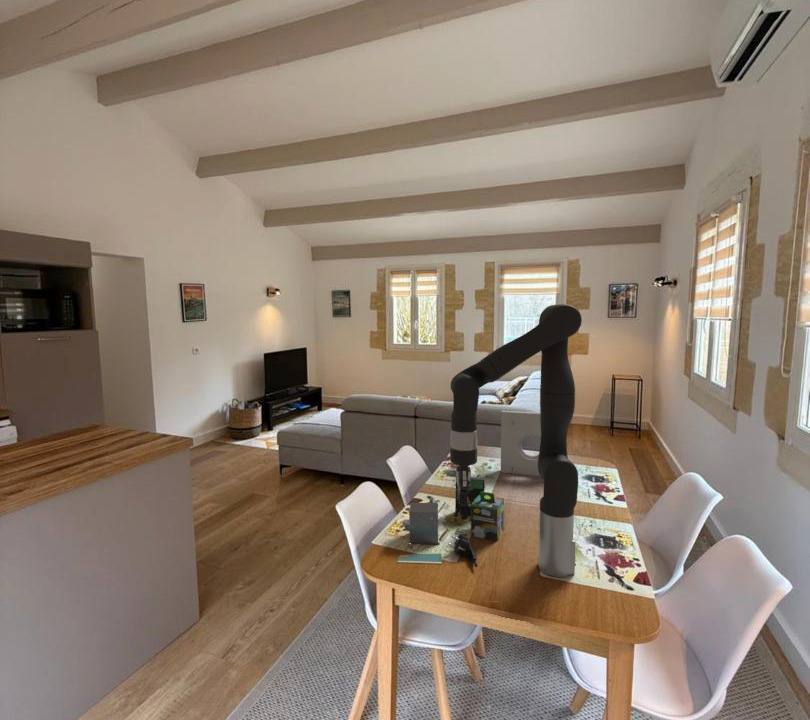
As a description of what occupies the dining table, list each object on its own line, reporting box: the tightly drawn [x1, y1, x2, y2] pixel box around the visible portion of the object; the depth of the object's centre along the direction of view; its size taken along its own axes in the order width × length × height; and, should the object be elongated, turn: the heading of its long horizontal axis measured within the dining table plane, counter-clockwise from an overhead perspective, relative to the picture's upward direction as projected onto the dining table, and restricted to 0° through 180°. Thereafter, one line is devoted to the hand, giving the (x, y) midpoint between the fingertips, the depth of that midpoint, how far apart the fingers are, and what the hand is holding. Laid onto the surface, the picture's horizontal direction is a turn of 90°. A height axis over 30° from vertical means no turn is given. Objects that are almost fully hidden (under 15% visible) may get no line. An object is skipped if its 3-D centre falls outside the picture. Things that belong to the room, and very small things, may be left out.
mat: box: [397, 553, 443, 565], centre depth 133 cm, size 13×9×1 cm
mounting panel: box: [500, 410, 541, 477], centre depth 192 cm, size 27×5×30 cm, turn 73°
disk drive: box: [454, 475, 486, 517], centre depth 157 cm, size 10×3×15 cm, turn 78°
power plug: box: [447, 534, 478, 568], centre depth 130 cm, size 6×8×12 cm
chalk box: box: [470, 491, 505, 542], centre depth 145 cm, size 9×9×15 cm
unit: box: [408, 502, 441, 546], centre depth 142 cm, size 10×8×11 cm
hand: (462, 505), depth 123 cm, fingers closed
